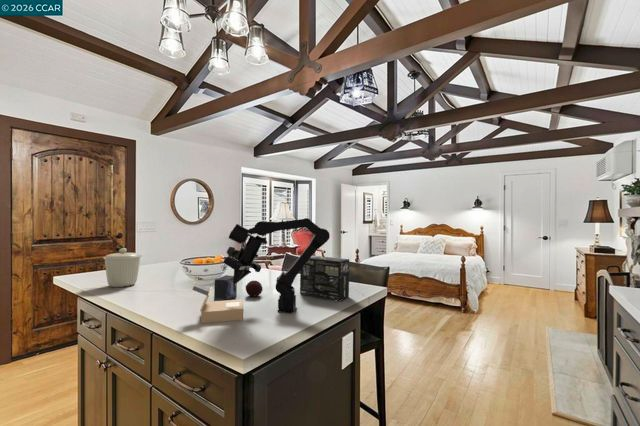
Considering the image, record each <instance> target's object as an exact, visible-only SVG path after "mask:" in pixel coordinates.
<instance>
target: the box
mask: <svg viewBox="0 0 640 426" xmlns="http://www.w3.org/2000/svg"><path fill="white" fill-rule="evenodd" d="M299 274H300V276H299V281H300V282H299V295H302V296H307V297H314V298H320V299H325V300H329V299H331V300H330V301H334V300H337V301H336V302H341V301H343V300H345V299H348V298H349V296H350V293H349V291H350V259H349V258H341V257H331V256H320V255H312V256H311V258H310V259H309V260H308V261H307V263H306V264H305V265H304V267H303V268H302V269H301V270H300V272H299ZM342 299H343V300H342ZM340 300H341V301H340Z"/></svg>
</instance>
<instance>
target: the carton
mask: <svg viewBox="0 0 640 426" xmlns="http://www.w3.org/2000/svg"><path fill="white" fill-rule="evenodd" d="M231 321H233V322H234V321H244V300H243V299H232V300H225V301H214V300H212V301H206V303H205V305H204V307H203V309H202V311H200V323H201V324H206V323H207V324H208V323H220V322H221V323H222V322H231Z"/></svg>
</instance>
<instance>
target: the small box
mask: <svg viewBox="0 0 640 426" xmlns="http://www.w3.org/2000/svg"><path fill="white" fill-rule="evenodd" d="M233 276H234V275H228V274H227V275H223V276H220V277H217V278H215V279H214V286H213V289H214V290H213V291H214V292H213V293H214V296H213V301H225V300H235V299H236V298H237V294H238V293H237V290H238V289H237V288H238V287H237V286H238V285H237V283H236V284H233Z"/></svg>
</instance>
